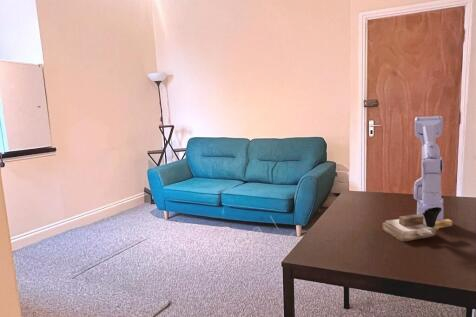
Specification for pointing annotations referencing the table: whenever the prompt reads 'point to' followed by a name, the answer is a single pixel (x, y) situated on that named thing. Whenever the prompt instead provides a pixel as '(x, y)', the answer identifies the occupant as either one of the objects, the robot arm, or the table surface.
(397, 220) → the lid
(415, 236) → the wooden tray
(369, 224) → the table surface
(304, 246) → the table surface
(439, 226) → the light wooden bar
